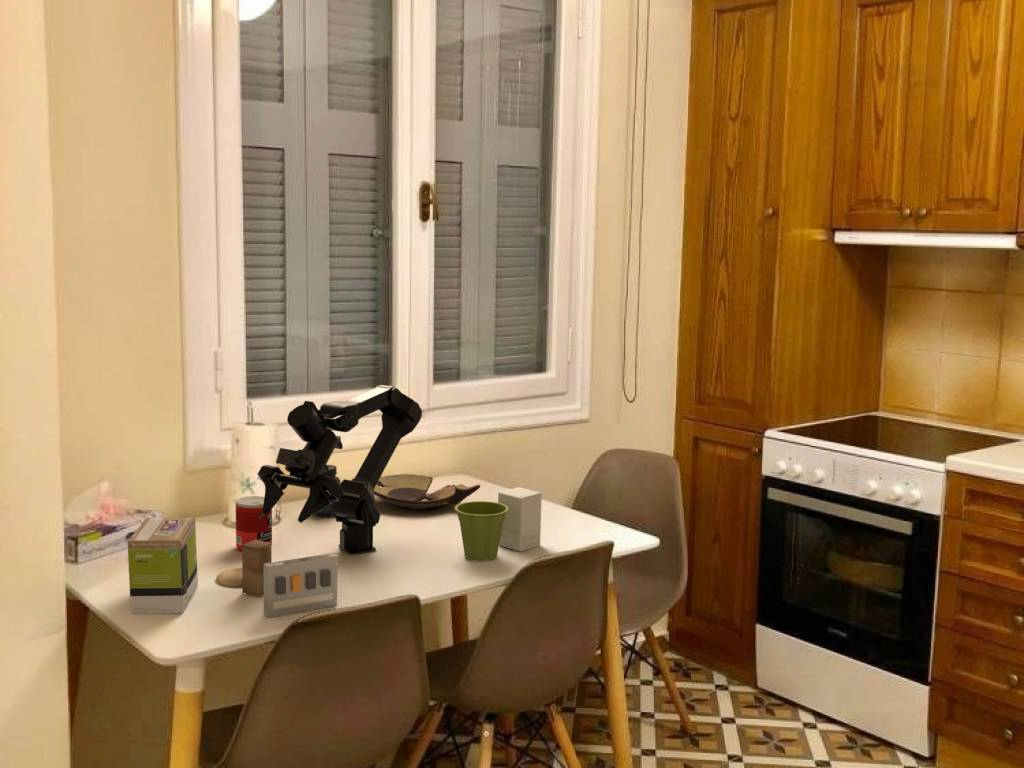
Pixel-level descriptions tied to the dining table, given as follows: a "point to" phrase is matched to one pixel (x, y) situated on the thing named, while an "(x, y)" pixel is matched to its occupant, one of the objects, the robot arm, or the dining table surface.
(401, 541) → the dining table surface
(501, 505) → the plant pot
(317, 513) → the supplement bottle
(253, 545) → the walnut block
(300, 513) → the robot arm
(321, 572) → the breaker panel
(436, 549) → the dining table surface
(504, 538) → the supplement box
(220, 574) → the coaster
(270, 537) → the canned food
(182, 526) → the tea box
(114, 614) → the dining table surface
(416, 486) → the broken bowl
